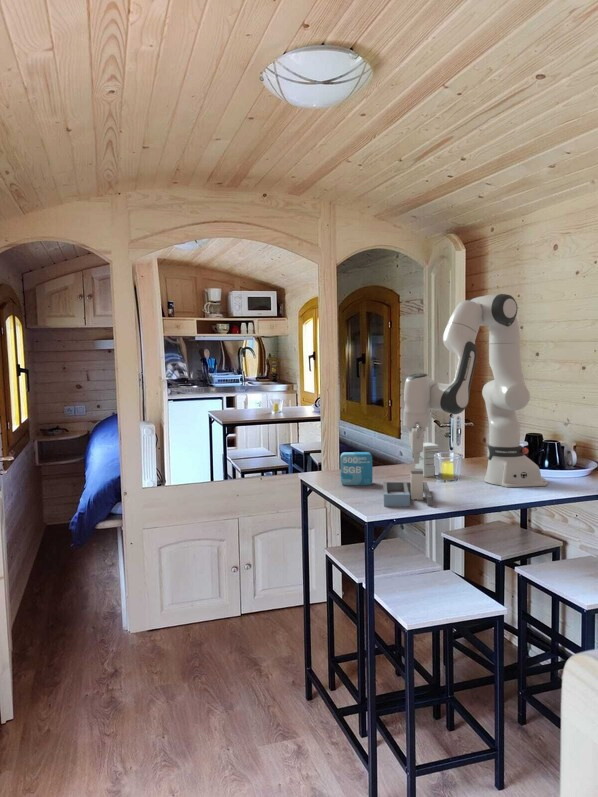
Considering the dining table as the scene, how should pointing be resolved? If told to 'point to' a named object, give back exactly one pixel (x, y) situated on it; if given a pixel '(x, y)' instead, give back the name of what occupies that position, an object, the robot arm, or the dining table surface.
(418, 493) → the beige rectangular block
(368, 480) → the data package
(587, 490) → the dining table surface
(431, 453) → the supplement box
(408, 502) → the grey open compartment holder
